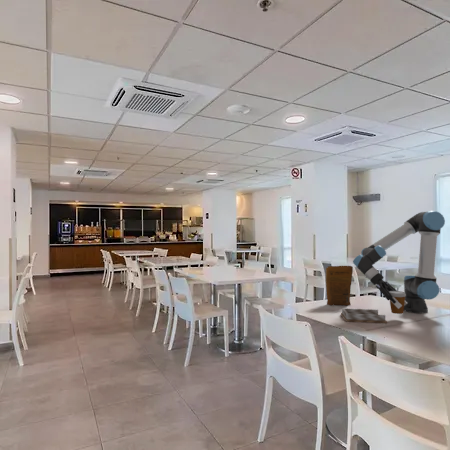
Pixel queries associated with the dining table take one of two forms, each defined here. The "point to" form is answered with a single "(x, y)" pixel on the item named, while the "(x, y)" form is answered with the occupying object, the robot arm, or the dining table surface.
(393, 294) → the disposable coffee cup
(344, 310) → the rail board
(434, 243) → the robot arm
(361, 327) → the dining table surface
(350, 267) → the pancake mix bag
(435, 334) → the dining table surface
